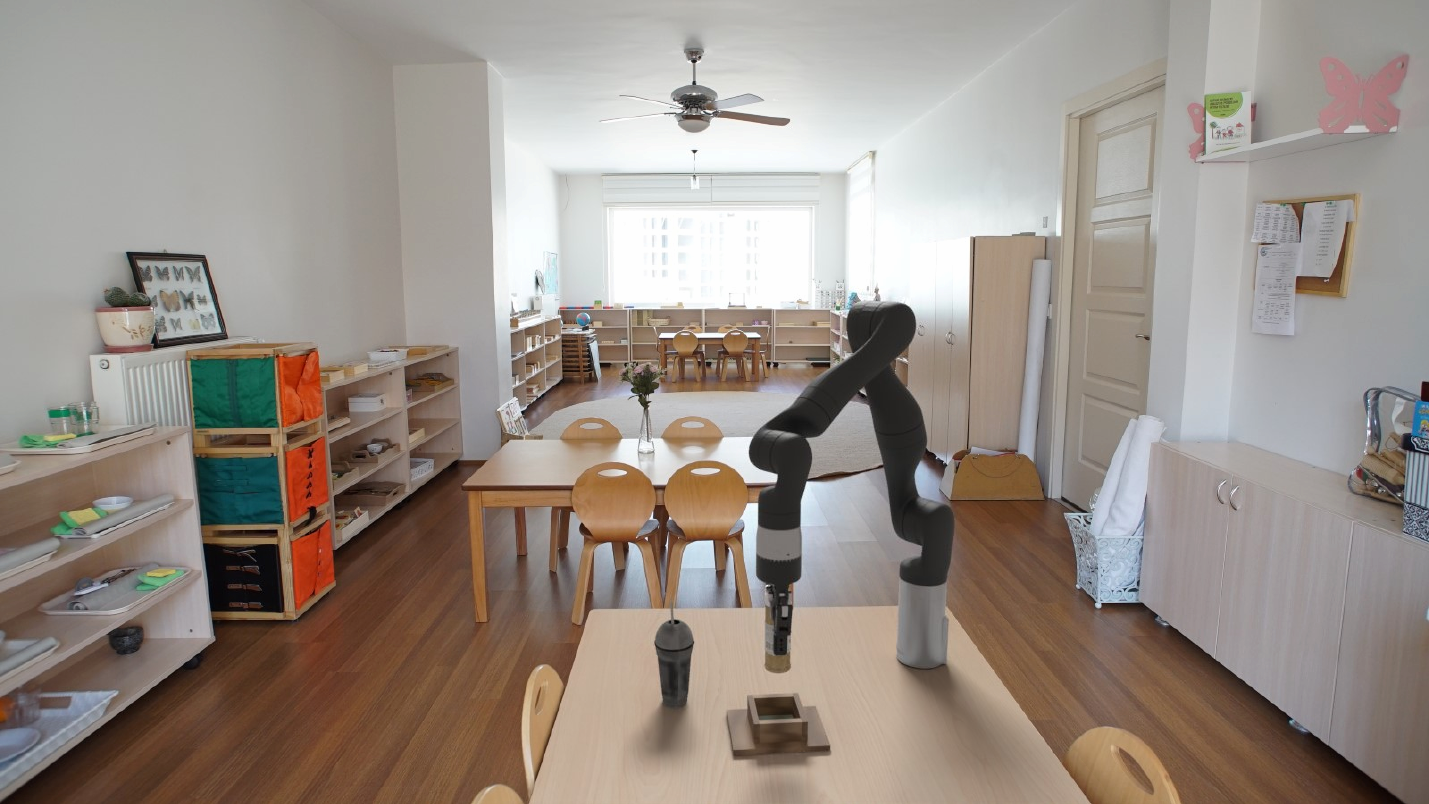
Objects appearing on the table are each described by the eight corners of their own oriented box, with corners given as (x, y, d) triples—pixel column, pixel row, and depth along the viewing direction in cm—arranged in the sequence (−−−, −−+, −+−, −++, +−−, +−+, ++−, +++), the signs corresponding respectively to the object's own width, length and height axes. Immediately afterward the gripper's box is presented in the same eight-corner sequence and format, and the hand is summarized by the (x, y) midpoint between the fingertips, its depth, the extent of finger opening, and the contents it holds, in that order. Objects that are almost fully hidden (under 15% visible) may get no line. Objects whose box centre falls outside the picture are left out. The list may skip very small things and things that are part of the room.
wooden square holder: (815, 711, 144) (815, 687, 143) (830, 750, 132) (830, 725, 131) (726, 715, 143) (726, 691, 142) (733, 755, 131) (733, 730, 130)
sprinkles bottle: (796, 669, 135) (797, 594, 133) (774, 677, 132) (775, 600, 130) (779, 658, 139) (780, 585, 136) (758, 666, 136) (758, 591, 134)
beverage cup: (700, 694, 150) (699, 592, 146) (686, 714, 143) (685, 608, 140) (664, 687, 152) (662, 587, 149) (648, 707, 145) (646, 603, 142)
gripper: (810, 565, 125) (808, 667, 128) (793, 535, 139) (792, 627, 142) (762, 566, 125) (761, 669, 128) (750, 536, 139) (750, 629, 142)
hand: (777, 646), depth 135 cm, fingers closed on sprinkles bottle, 4 cm apart
